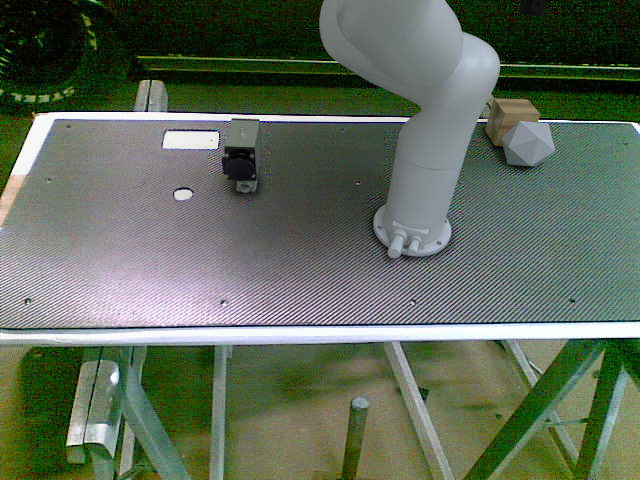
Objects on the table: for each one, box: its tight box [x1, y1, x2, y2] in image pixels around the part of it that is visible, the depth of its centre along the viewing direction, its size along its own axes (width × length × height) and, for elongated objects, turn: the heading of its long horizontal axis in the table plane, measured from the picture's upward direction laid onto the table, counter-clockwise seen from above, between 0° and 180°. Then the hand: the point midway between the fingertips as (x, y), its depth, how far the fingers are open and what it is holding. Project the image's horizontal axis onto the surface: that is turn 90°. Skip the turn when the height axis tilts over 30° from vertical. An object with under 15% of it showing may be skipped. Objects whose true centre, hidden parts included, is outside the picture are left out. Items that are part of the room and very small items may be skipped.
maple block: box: [484, 98, 541, 147], centre depth 96 cm, size 7×7×7 cm
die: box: [501, 121, 556, 167], centre depth 90 cm, size 8×9×10 cm
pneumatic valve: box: [220, 117, 262, 194], centre depth 80 cm, size 6×12×12 cm, turn 0°
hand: (530, 13), depth 69 cm, fingers closed
